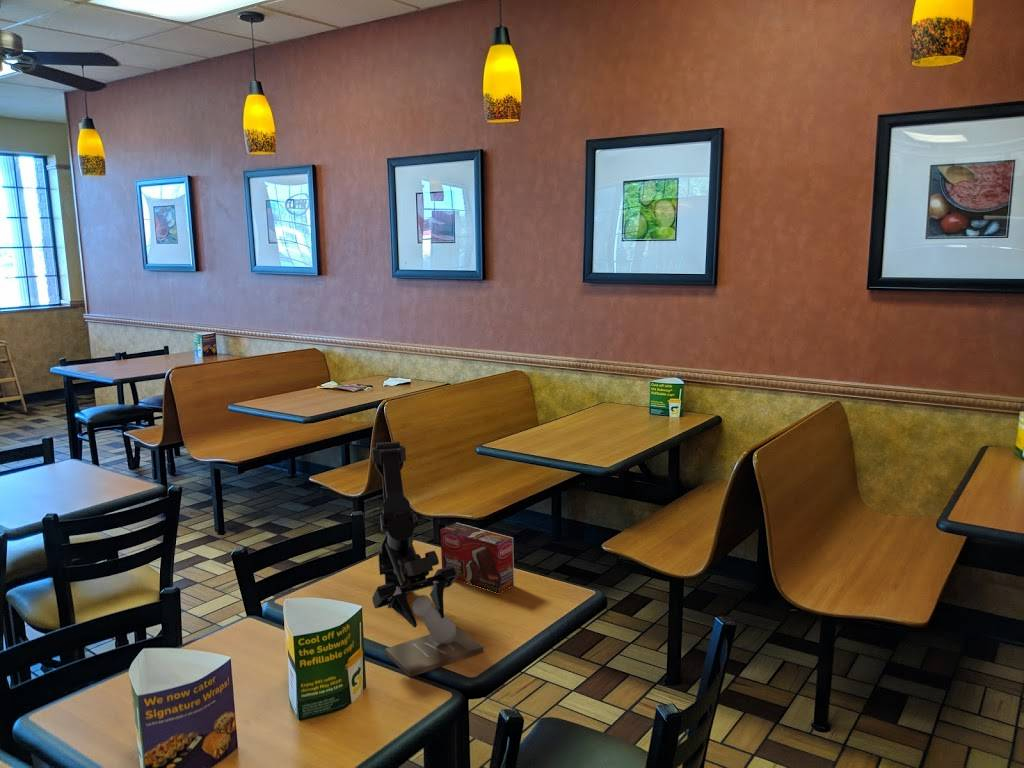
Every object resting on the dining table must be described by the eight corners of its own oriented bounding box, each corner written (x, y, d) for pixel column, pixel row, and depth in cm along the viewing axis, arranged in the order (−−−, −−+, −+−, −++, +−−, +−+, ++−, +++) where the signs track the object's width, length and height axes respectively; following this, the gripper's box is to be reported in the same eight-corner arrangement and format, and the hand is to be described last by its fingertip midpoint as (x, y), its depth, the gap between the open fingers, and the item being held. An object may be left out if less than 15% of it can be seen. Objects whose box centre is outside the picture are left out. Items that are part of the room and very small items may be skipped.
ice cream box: (514, 586, 205) (513, 537, 203) (498, 594, 200) (497, 545, 198) (458, 568, 217) (456, 522, 215) (442, 575, 212) (440, 529, 210)
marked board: (456, 630, 181) (456, 625, 181) (483, 651, 172) (483, 646, 171) (385, 653, 172) (384, 648, 171) (409, 677, 162) (409, 671, 162)
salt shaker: (458, 645, 170) (427, 610, 164) (436, 651, 172) (404, 617, 165) (461, 622, 175) (431, 588, 168) (439, 628, 177) (409, 595, 170)
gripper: (373, 551, 165) (398, 619, 157) (451, 531, 174) (478, 594, 167) (362, 575, 173) (385, 640, 165) (437, 554, 182) (463, 615, 175)
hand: (429, 622), depth 168 cm, fingers closed on salt shaker, 6 cm apart
